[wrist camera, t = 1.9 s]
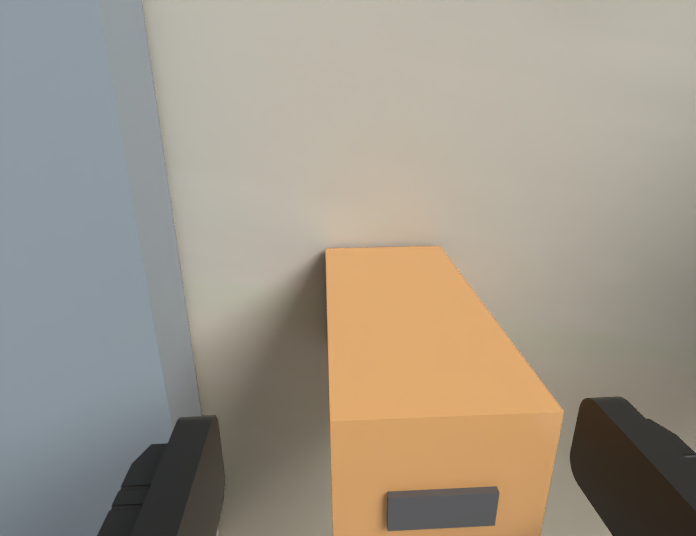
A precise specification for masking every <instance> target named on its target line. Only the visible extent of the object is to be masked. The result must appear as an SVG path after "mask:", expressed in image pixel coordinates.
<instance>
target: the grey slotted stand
mask: <svg viewBox="0 0 696 536" xmlns="http://www.w3.org/2000/svg"><path fill="white" fill-rule="evenodd" d="M192 416H202V414H201V407H200V400H199V393H198V386H197V379H196V372H195V365H194V358H193V351H192V344H191V337H190V331H189V324H188V317H187V310H186V303H185V296H184V289H183V282H182V275H181V268H180V261H179V255H178V248H177V241H176V234H175V227H174V220H173V213H172V206H171V199H170V192H169V185H168V179H167V172H166V165H165V158H164V151H163V144H162V137H161V130H160V123H159V116H158V109H157V102H156V96H155V89H154V82H153V75H152V68H151V61H150V54H149V47H148V40H147V33H146V26H145V20H144V13H143V6H142V0H0V536H97V535H98V532H99V530H100V528H101V526H102V524H103V522H104V520H105V518H106V516H107V514H108V512H109V510H111V508H112V503H113V501H114V499H115V497H116V495H117V493H118V491H120V490H121V485H122V483H123V481H124V478H125V476H126V474H127V472H128V470H129V468H130V466H131V464H132V463H133V462H134V461H135V460H136V459H137V458H138V457H139V456H140V455H141V454H142V453H143V452H144V451H145V450H146V449H147V448H148V447H149V446H150V445H151V444H164V443H168V441H169V439H170V436H171V434H172V431H173V429H174V427H175V424H176V422H177V420H178V418H180V417H192ZM216 536H219V531H218V528H217V533H216Z"/></svg>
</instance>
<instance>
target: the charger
mask: <svg viewBox="0 0 696 536" xmlns="http://www.w3.org/2000/svg"><path fill="white" fill-rule="evenodd" d="M325 250H326V289H327V329H328V367H329V405H330V443H331V481H332V518H333V536H540V535H541V530H542V524H543V519H544V514H545V509H546V504H547V499H548V493H549V488H550V483H551V478H552V473H553V467H554V462H555V457H556V452H557V447H558V442H559V436H560V431H561V426H562V421H563V416H564V411H563V409H562V408H561V407H560V405H559V404H558V403H557V401H556V400H555V399H554V397H553V396H552V395H551V393H550V392H549V391H548V389H547V388H546V387H545V385H544V384H543V383H542V381H541V380H540V379H539V377H538V376H537V375H536V373H535V372H534V371H533V369H532V368H531V367H530V365H529V364H528V363H527V361H526V360H525V359H524V357H523V356H522V355H521V353H520V352H519V351H518V349H517V348H516V347H515V345H514V344H513V343H512V341H511V340H510V339H509V337H508V336H507V335H506V333H505V332H504V331H503V329H502V328H501V327H500V325H499V324H498V323H497V321H496V320H495V319H494V317H493V316H492V315H491V313H490V312H489V311H488V309H487V308H486V307H485V305H484V304H483V303H482V301H481V300H480V299H479V297H478V296H477V295H476V293H475V292H474V291H473V289H472V288H471V287H470V285H469V284H468V283H467V281H466V280H465V279H464V277H463V276H462V275H461V273H460V272H459V271H458V269H457V268H456V267H455V265H454V264H453V263H452V261H451V260H450V259H449V257H448V256H447V255H446V253H445V252H444V251H443V249H442V248H441V247H440V246H414V247H372V248H329V249H325Z"/></svg>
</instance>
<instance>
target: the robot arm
mask: <svg viewBox="0 0 696 536" xmlns="http://www.w3.org/2000/svg"><path fill="white" fill-rule="evenodd" d="M570 464H571V469H572V472H573V475H574V478H575V480H576V482H577V484H578V485H579V487H580V488H581V490H582V491H583V493H584V494H585V495H586V497H587V498H588V500H589V501H590V503H591V504H592V506H593V507H594V509H595V510H596V512H597V513H598V515H599V516H600V518H601V519H602V520H603V522H604V523H605V525H606V526H607V528H608V529H609V531H610V532H611V534H612V535H613V536H696V453H695V452H694V451H693V450H692V449H691V448H690V447H689V446H687V445H686V444H685V443H684V442H683V441H682V440H681V439H680V438H679V437H678V436H677V435H676V434H674V433H672V432H671V431H669V430H667V429H666V428H664V427H662V426H661V425H659V424H657V423H655V422H654V421H652V420H650V419H645V418H644V417H643V416H642V415H641V414H640V413H639V412H638V411H637V410H636V409H635V408H634V407H633V406H632V405H631V404H630V403H629V402H628V401H627V400H626V399H624V398H622V397H600V398H586V399H584V400H583V401H582V402H581V404H580V407H579V412H578V417H577V422H576V427H575V432H574V436H573V441H572V446H571V451H570ZM224 487H225V475H224V465H223V457H222V448H221V440H220V432H219V424H218V419H217V417H216V416H215V415H212V416H192V417H180V418H178V420H177V422H176V424H175V427H174V429H173V431H172V434H171V436H170V439H169V441H168V443H164V444H151V445H150V446H149V447H148V448H147V449H146V450H145V451H144V452H143V453H142V454H141V455H140V456H139V457H138V458H137V459H136V460H135V461H134V462H133V463H132V464H131V466H130V468H129V470H128V472H127V474H126V476H125V478H124V481H123V483H122V485H121V490H120V491H118V493H117V495H116V497H115V499H114V501H113V503H112V508H111V510H109V512H108V514H107V516H106V518H105V520H104V522H103V524H102V526H101V528H100V530H99V532H98V535H97V536H216V533H217V528H218V524H219V519H220V514H221V510H222V505H223V499H224Z"/></svg>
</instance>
